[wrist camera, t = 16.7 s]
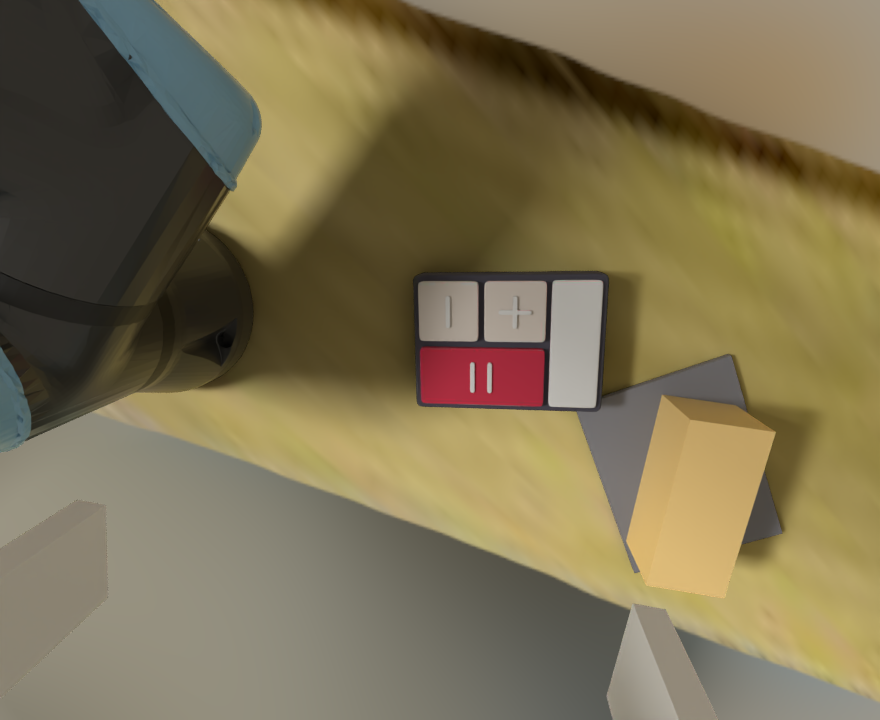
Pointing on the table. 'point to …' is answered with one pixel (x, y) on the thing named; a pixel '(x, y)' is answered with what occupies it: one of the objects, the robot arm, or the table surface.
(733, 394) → the charcoal mat
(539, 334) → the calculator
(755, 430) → the ochre block
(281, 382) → the table surface
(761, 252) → the table surface
